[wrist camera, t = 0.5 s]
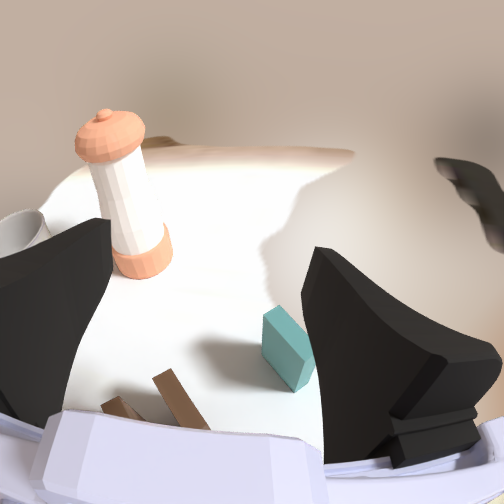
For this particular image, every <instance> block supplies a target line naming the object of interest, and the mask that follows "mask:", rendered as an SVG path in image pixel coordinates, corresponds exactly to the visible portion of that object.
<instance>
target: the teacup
mask: <svg viewBox="0 0 504 504" xmlns="http://www.w3.org/2000/svg"><path fill="white" fill-rule="evenodd" d="M49 238H51V235H50V232H49V230H48V228H47V226H46V223H45V219H44V216H43V214H42V213H41V212H40V211H38V210H35V209H26V210H21V211H18V212H15V213H12V214H11V215H8V216H7V217H5V218H3V219H2V220H0V258H2V257H6V256H9V255H11V254H14V253H17V252H19V251H22V250H24V249H27V248H29V247H32V246H34V245H36V244H38V243H40V242H43V241H45V240H47V239H49Z"/></svg>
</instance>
